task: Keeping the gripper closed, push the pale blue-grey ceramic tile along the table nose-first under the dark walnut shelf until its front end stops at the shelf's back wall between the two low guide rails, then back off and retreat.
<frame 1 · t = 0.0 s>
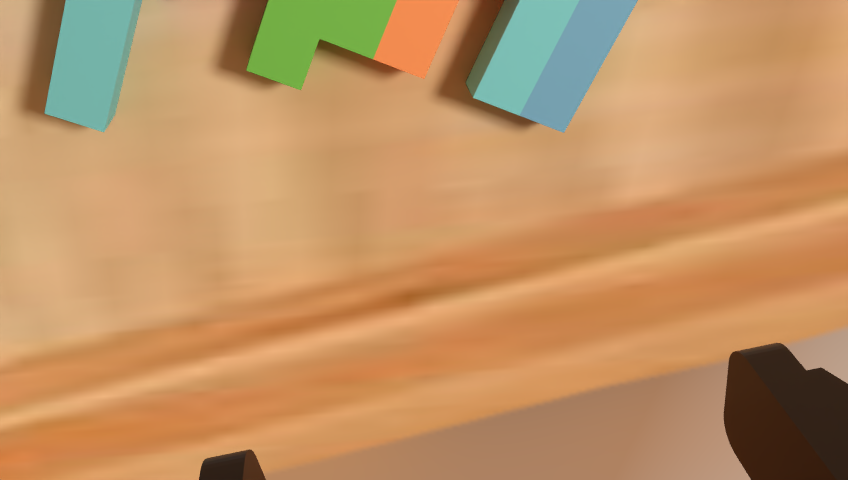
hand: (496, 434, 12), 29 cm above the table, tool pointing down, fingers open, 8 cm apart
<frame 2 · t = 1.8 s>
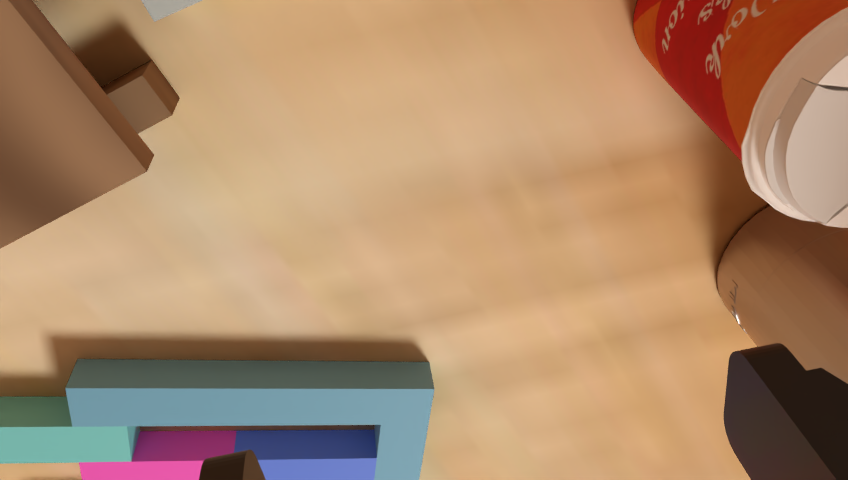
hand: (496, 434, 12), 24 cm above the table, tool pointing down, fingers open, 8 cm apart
paper cup: (687, 11, 34), on the table
shelf: (11, 4, 30), on the table
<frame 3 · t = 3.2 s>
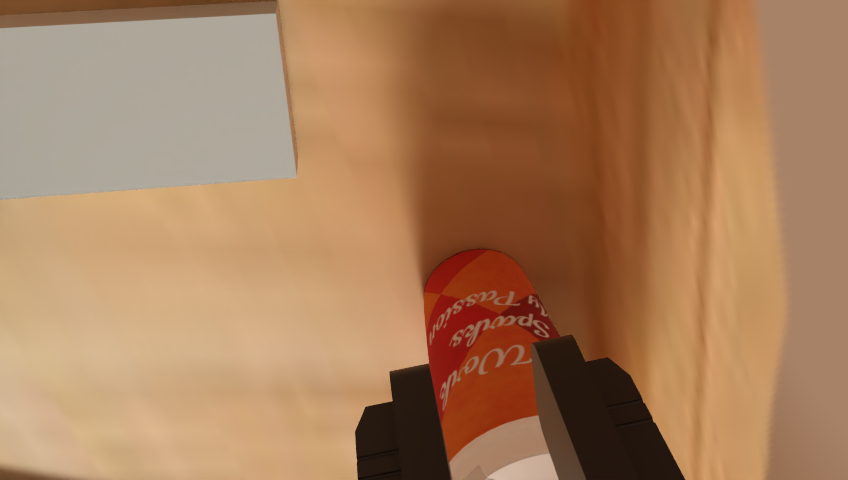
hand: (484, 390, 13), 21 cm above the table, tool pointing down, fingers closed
paper cup: (473, 290, 38), on the table
tile: (123, 90, 31), on the table
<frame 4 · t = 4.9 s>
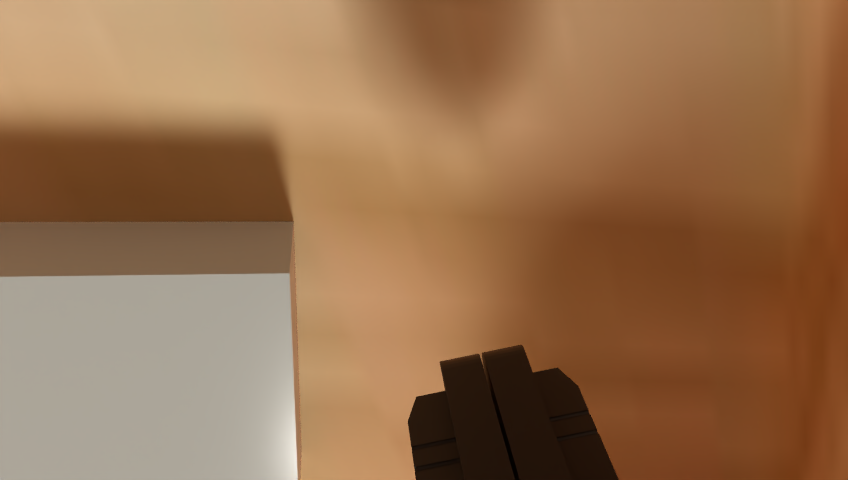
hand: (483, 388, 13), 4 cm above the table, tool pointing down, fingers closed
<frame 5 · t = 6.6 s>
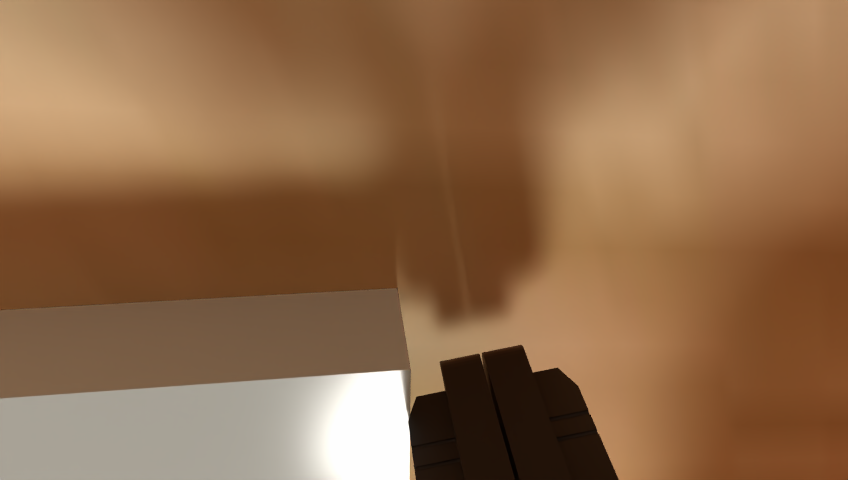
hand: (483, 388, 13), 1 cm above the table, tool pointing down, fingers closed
tile: (47, 442, 14), on the table
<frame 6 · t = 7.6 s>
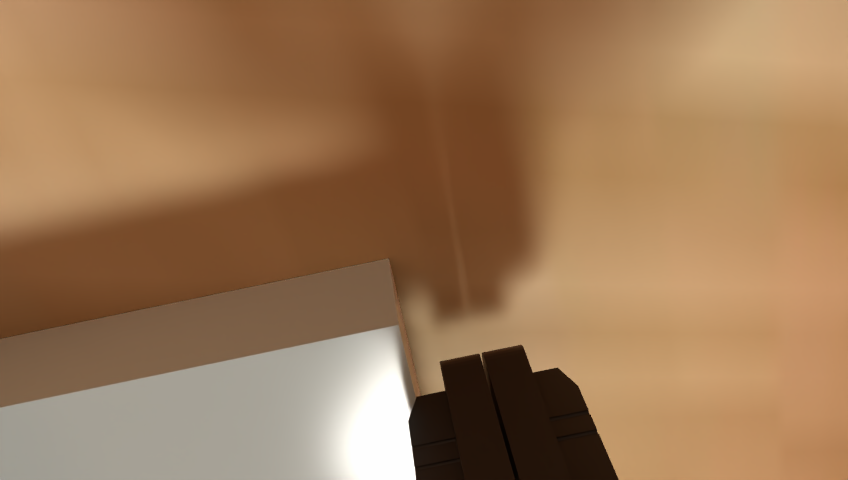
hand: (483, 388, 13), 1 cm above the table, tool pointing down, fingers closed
tile: (90, 447, 15), on the table, touching gripper
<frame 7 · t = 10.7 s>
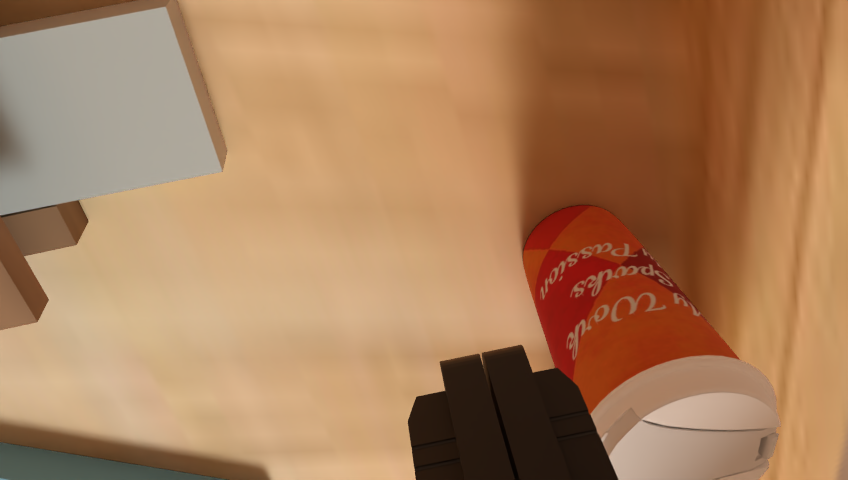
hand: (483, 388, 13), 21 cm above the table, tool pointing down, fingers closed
paper cup: (571, 248, 38), on the table
tile: (40, 104, 31), on the table
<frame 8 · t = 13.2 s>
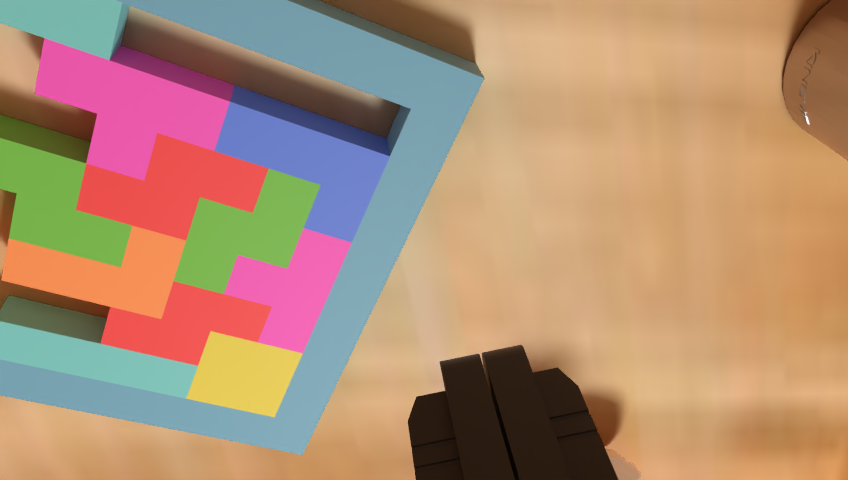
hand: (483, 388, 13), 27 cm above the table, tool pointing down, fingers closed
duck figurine: (543, 451, 55), on the table
tetris game: (143, 198, 40), on the table
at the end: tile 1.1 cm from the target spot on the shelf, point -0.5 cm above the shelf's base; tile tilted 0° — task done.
